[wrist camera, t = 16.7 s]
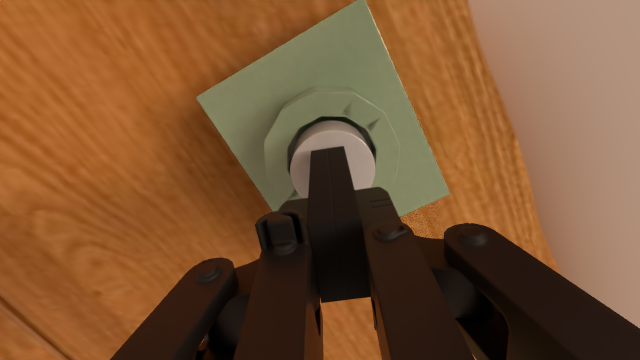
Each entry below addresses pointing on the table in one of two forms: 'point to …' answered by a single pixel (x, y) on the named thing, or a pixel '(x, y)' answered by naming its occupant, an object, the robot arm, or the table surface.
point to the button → (329, 137)
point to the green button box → (326, 109)
